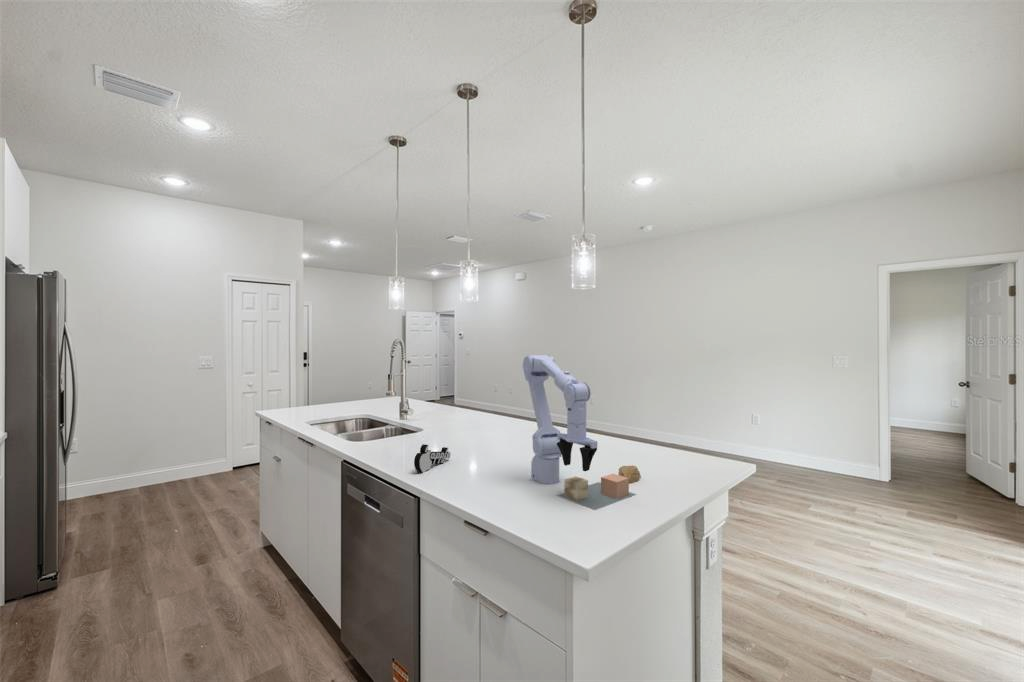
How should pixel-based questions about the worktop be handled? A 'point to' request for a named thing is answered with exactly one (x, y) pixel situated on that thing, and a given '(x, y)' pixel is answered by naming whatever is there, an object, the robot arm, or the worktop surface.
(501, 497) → the worktop surface
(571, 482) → the maple block
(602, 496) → the slate mat
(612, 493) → the terracotta brick
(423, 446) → the logo
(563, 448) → the robot arm
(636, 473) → the stone tool
